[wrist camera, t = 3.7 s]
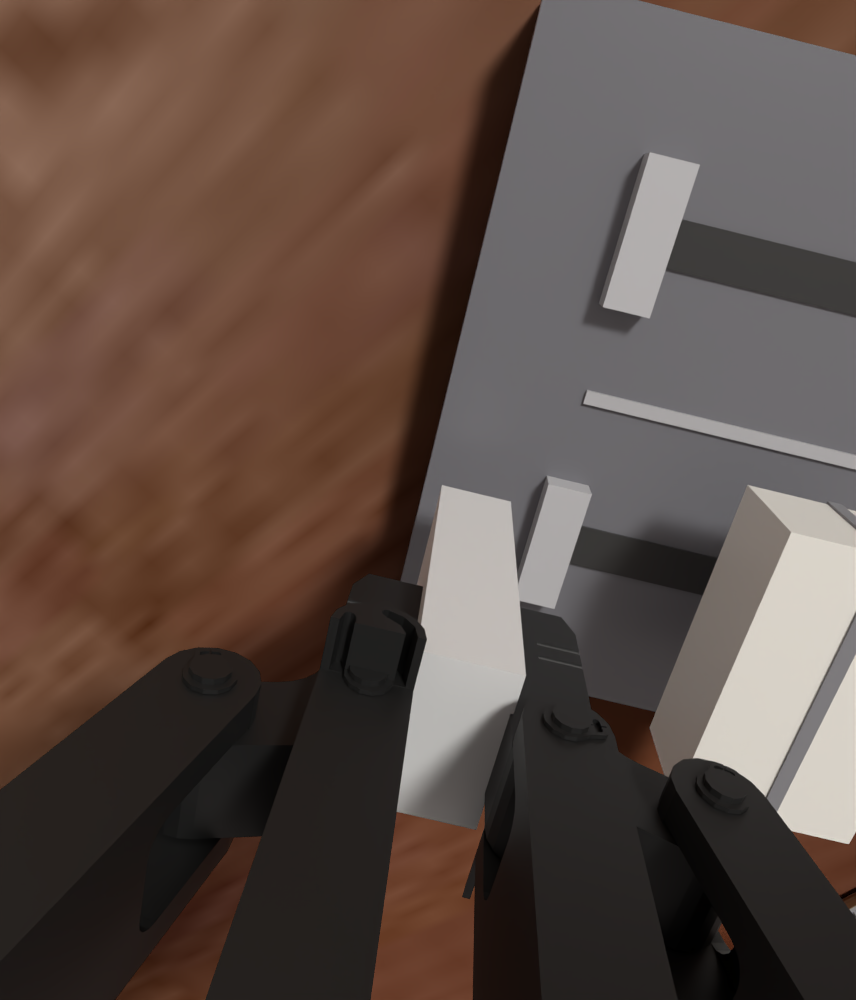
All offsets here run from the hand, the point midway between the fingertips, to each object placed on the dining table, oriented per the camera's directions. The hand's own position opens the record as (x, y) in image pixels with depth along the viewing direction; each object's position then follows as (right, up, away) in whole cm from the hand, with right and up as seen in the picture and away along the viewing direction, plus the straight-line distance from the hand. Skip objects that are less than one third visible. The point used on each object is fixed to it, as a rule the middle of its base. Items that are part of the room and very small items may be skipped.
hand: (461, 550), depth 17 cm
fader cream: (+7, -1, +2) cm, 7 cm away
